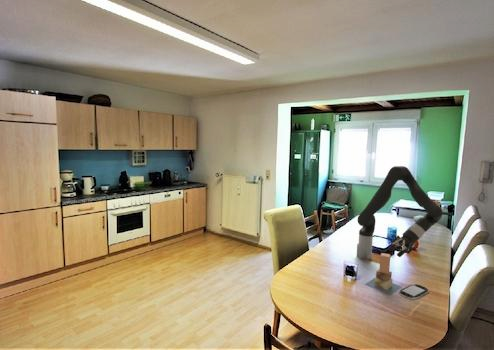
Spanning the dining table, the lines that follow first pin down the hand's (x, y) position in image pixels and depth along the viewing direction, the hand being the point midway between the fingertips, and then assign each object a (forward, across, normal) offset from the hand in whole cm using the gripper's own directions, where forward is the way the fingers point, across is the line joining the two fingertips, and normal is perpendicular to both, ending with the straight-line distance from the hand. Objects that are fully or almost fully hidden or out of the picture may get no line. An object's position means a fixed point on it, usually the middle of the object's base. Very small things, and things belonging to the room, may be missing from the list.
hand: (393, 253), depth 158 cm
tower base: (+17, 0, +10) cm, 20 cm away
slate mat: (+18, 0, +11) cm, 21 cm away
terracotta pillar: (+11, 0, +4) cm, 12 cm away
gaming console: (+9, +8, +21) cm, 24 cm away
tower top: (+14, 0, +7) cm, 16 cm away
